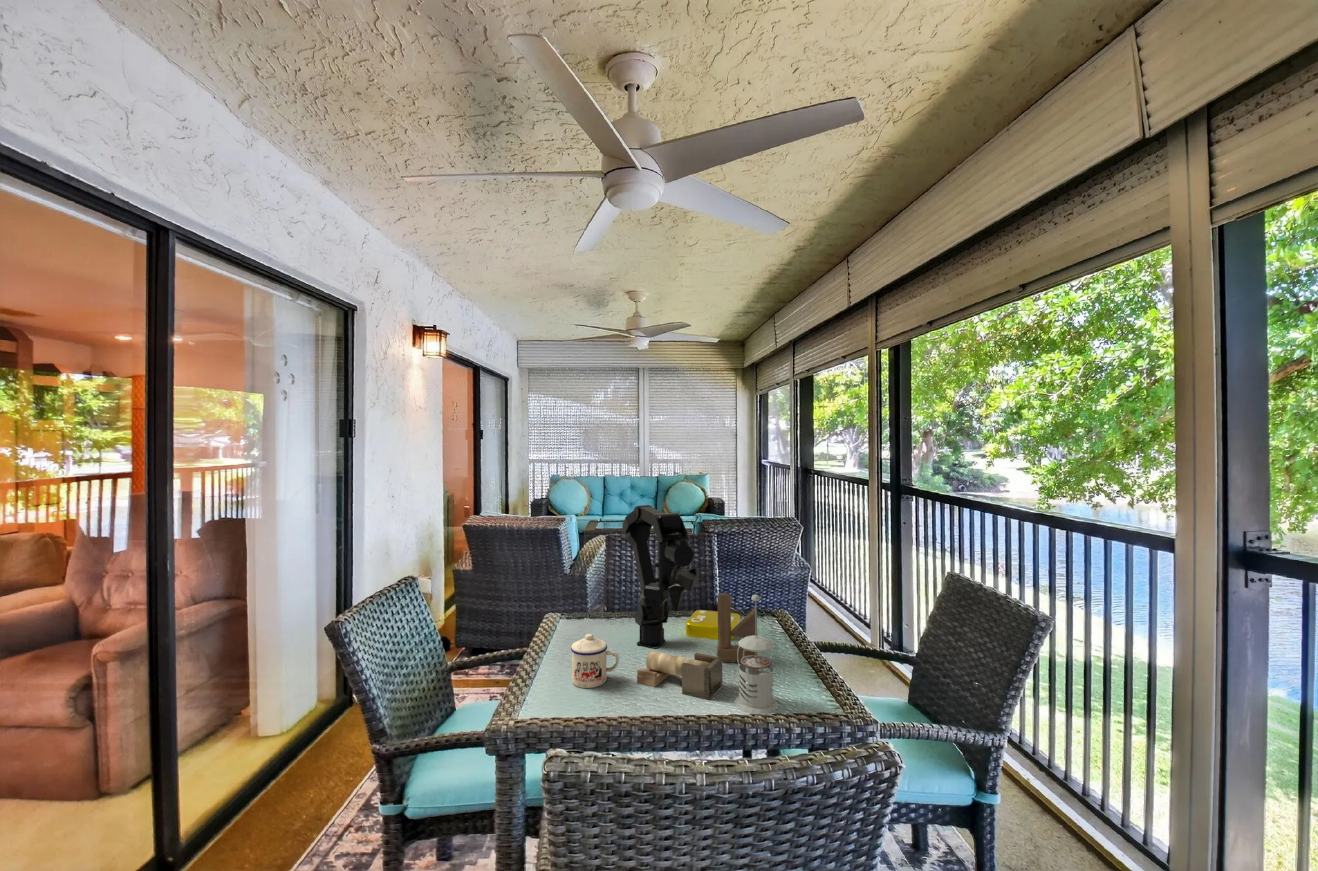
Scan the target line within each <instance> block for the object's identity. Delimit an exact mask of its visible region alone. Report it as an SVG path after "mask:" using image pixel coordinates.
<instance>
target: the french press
mask: <svg viewBox="0 0 1318 871" xmlns="http://www.w3.org/2000/svg"><path fill="white" fill-rule="evenodd" d="M751 601H754V603H755V604H754V605H755V606H754V608H755V635H753V636H747V637H745V638H743V637H742V638H741V639H740V640H738V643H737V644H738V646H739V648H740V647H741V648H743V649H744V650H745V651H747V650H748V651H752V652H755V655H753V656H752V655H750V656H745V657H744V650H743V658H742V659H741V660H740V662H739V660H738V652H739V648H738V652H737V660H738V662H737V664H738V673H739V674H738V679H739V681H738V684H739V688H738V690H739V691H738V696H737V697H736V698H735V700H734V704H735V706H736V707H737V708H738V709H739V710H742V712H745V713H749V714H757V715H761V714H763V715H764V714H769V713H772V712H775V711H776V709H778V706H779V703H778V702H777V701H776V700H775V698H774V667H773V666H772V663H773V662H772V660H771V659H770V658H768V657H766V656H762V655H758V654H757V656H756V652H757V653H765V652H768V651H771V650H772V649H774V647H775V645H774V644H775V643H773V642H772V641H771V640H770V639H768V638H766V637H764V636H761V635H757V636H756V610H757V602H759V601H761V598H760V596H759V595H758V594H753V595H752V596H751ZM740 663H741V664H740ZM766 669H768V670H769V671H768V670H766ZM747 683H748V684H747Z"/></svg>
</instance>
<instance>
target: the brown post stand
mask: <svg viewBox="0 0 1318 871" xmlns="http://www.w3.org/2000/svg"><path fill="white" fill-rule="evenodd" d="M731 603H732V596H731V594H729V593H727V592H726V593H725V592H722V593H719V594H717V612H718V640H717V646H716V656H717V657H722V663H738V660H739V663H741V662H740V660H741V659H742V658H743V650H744V649H743V648H741V647H740V648H739V645H737V644H732V640H731V636H735V637H742V639H743V638H745V637H747V636H753V635H755V607H754V608H753V609H752V610H751V611H750V612H749V613H747V615H746V616H745V617H744V618H742V620H740V623H739V624H738V625H737V626H736V627H735V628H734V629H733V630H732V631H731V613H732V608H731V607H732V604H731ZM756 636H758V611H757V609H756ZM738 648H739V652H738ZM737 652H738V660H737ZM750 655H752V656H753V655H755V652H752V651H748V650H747V651H745V650H744V657H745V656H750ZM757 655H758V652H756V656H757Z"/></svg>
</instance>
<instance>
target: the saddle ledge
mask: <svg viewBox="0 0 1318 871" xmlns="http://www.w3.org/2000/svg"><path fill="white" fill-rule="evenodd" d="M636 672H637V673H636V674H637V675H636V684H638V685H639V684H640V685H643V686H648V687H652V688H655V687H657V686H658V685H659V684H660V683H662V682H663V681H664V680H665V679H667V677H669V676H670V675H671V674H668V673H664V672H659V671H655V670H650V669H648V668H647V667H646V668H645V669H643V668H638V669H637V671H636Z"/></svg>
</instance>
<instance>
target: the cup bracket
mask: <svg viewBox="0 0 1318 871" xmlns="http://www.w3.org/2000/svg"><path fill="white" fill-rule="evenodd" d="M693 655H694V656H693V658H694V660H699V661H704V662H709V663H710V664H709V665H708V666H707V667H702V666H698V665H693V664H688V663H683V664H682V676H681V694H682V695H685V696H689V697H695V698H697V699H698V698H699V699H702V700H707V701H710V700H711V699H712V698H713V696H715V695H716V693H717V692H719V690H720V689H721V688H722V687H723V686H724V685H723V680H724V679H723V662H722V657H717V655H710V654H707V653H706V654H705V653H701V652H695V653H694V654H693Z"/></svg>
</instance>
